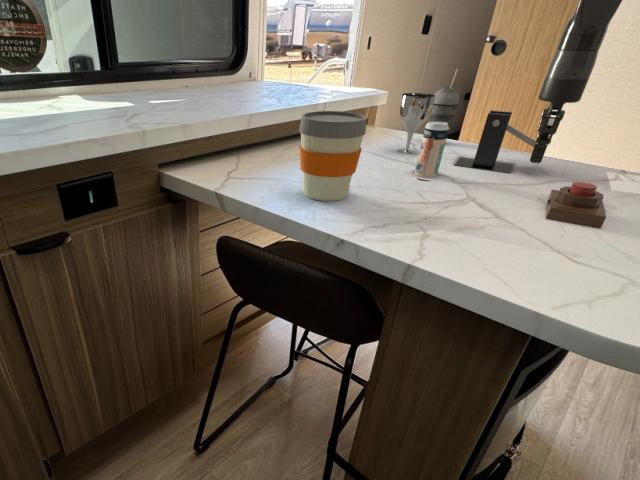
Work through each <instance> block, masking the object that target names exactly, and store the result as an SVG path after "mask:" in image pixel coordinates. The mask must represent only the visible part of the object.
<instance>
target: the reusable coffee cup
mask: <svg viewBox="0 0 640 480" xmlns="http://www.w3.org/2000/svg"><path fill="white" fill-rule="evenodd" d="M366 131H367V116H366V115H364V114H362V113H357V112H351V111H341V110H340V111H339V110H319V111H318V110H317V111H309V112H304V113H303V114H302V115H301V119H300V124H299V133H300V140H301V141H300V143H301V144H300V145H299V166H300V168H299V169H300V171H301V172H302V189H303V190H302V191H303V192H302V193H303V195H304V196H305V197H306V198H308V199H312V200H315V201H321V202H336V201H341V200H344V199H345V198H347V196H348V192H349V189H350V184H351V181H352V177H353V175H354V174H355V173H356V170H357V167H358V164H359V160H360V157H361V154H362V150H363V149H362V147H361V145H362V141H363V137H364V136H365V135H366V134H367V133H366Z"/></svg>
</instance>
